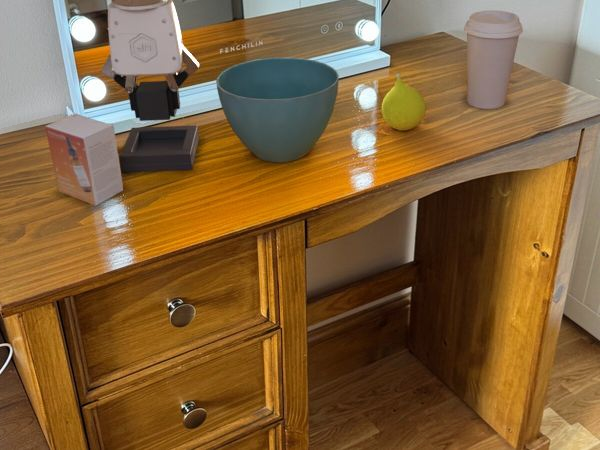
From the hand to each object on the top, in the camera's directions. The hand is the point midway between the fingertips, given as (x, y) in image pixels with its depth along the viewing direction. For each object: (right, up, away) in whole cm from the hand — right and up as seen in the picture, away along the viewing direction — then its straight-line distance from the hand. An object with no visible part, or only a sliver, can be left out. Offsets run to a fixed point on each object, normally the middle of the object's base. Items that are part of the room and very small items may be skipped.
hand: (156, 112), depth 116 cm
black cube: (0, 0, 0) cm, 0 cm away
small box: (-8, -12, -6) cm, 16 cm away
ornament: (+39, -1, +10) cm, 40 cm away
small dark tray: (0, -6, +4) cm, 7 cm away
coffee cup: (+55, +4, +18) cm, 58 cm away
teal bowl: (+19, -6, +4) cm, 20 cm away
